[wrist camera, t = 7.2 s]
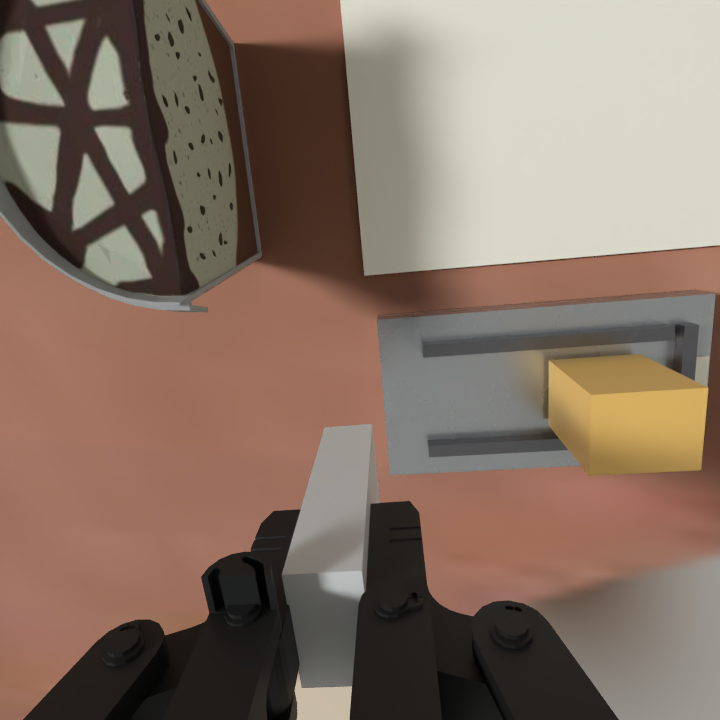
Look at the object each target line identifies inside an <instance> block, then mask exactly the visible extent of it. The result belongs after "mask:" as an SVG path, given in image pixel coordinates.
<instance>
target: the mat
mask: <svg viewBox="0 0 720 720" xmlns="http://www.w3.org/2000/svg"><path fill="white" fill-rule="evenodd" d="M340 3H341V14H342V26H343V37H344V49H345V60H346V72H347V83H348V95H349V106H350V118H351V129H352V140H353V152H354V163H355V175H356V186H357V198H358V209H359V221H360V232H361V244H362V255H363V267H364V276H367V275H379V274H390V273H402V272H414V271H425V270H437V269H448V268H460V267H472V266H483V265H495V264H507V263H518V262H530V261H542V260H553V259H565V258H577V257H588V256H600V255H612V254H623V253H635V252H646V251H658V250H670V249H681V248H693V247H705V246H716V245H720V0H340Z"/></svg>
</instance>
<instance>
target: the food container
mask: <svg viewBox="0 0 720 720" xmlns="http://www.w3.org/2000/svg"><path fill="white" fill-rule="evenodd" d="M0 216H1V217H2V218H3V220H4V221H5V222H6V223H7V224H8V225H9V227H10V228H11V229H12V230H13V231H14V232H15V234H16V235H17V236H18V237H19V238H20V239H21V240H22V241H23V242H24V243H25V244H26V245H27V246H28V247H30V248H31V249H32V250H33V251H34V252H35V253H36V254H37V255H38V256H40V257H41V258H42V259H43V260H44V261H46V262H47V263H48V264H50V265H51V266H53V267H54V268H56V269H57V270H59V271H60V272H62V273H63V274H65V275H66V276H68V277H69V278H71V279H73V280H75V281H76V282H78V283H80V284H82V285H84V286H86V287H88V288H90V289H92V290H94V291H96V292H98V293H100V294H102V295H104V296H106V297H109V298H112V299H115V300H118V301H122V302H125V303H128V304H131V305H134V306H140V307H146V308H152V309H158V310H166V311H177V312H208V308H207V307H201V306H194V305H192V304H191V301H192V300H194V299H196V298H197V297H199V296H200V295H202V294H204V293H205V292H207V291H208V290H210V289H212V288H213V287H215V286H216V285H218V284H220V283H221V282H223V281H224V280H226V279H228V278H229V277H231V276H232V275H234V274H236V273H237V272H239V271H240V270H242V269H244V268H245V267H247V266H248V265H250V264H252V263H253V262H255V261H256V260H258V259H260V258H261V257H262V250H261V243H260V235H259V228H258V220H257V213H256V205H255V198H254V190H253V183H252V175H251V168H250V161H249V153H248V146H247V138H246V131H245V123H244V116H243V108H242V101H241V93H240V86H239V78H238V71H237V64H236V56H235V49H234V43H233V41H232V40H231V38H230V37H229V35H228V34H227V32H226V31H225V29H224V28H223V27H222V25H221V24H220V22H219V21H218V19H217V18H216V16H215V15H214V13H213V12H212V10H211V9H210V7H209V6H208V4H207V3H206V1H205V0H0Z"/></svg>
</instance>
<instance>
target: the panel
mask: <svg viewBox="0 0 720 720" xmlns="http://www.w3.org/2000/svg"><path fill="white" fill-rule="evenodd" d="M715 296H716V294H715V293H709V292H704V291H699V290H687V291H675V292H662V293H649V294H637V295H624V296H611V297H598V298H586V299H573V300H560V301H548V302H535V303H522V304H509V305H497V306H484V307H471V308H459V309H446V310H433V311H420V312H408V313H395V314H382V315H378V318H377V324H378V337H379V349H380V361H381V373H382V385H383V397H384V409H385V421H386V433H387V446H388V458H389V470H390V475H402V474H422V473H442V472H462V471H482V470H502V469H522V468H542V467H562V466H581V465H580V464H579V463H578V461H577V460H576V459H575V458H574V456H573V455H572V454H571V453H570V451H569V450H568V449H567V448H566V446H565V445H564V444H563V443H562V441H561V440H560V439H559V438H558V436H557V435H556V434H555V433H554V431H553V430H552V429H551V428H550V427H549V425H548V404H549V360H557V359H571V358H586V357H601V356H615V355H630V354H641V355H643V356H645V357H647V358H649V359H651V360H653V361H655V362H657V363H659V364H661V365H663V366H665V367H667V368H669V369H671V370H674V371H676V372H678V373H680V374H682V375H684V376H686V377H688V378H690V379H692V380H694V381H696V382H698V383H700V384H702V385H704V386H706V387H708V376H709V364H710V353H711V342H712V330H713V319H714V308H715Z"/></svg>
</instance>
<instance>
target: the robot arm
mask: <svg viewBox="0 0 720 720" xmlns="http://www.w3.org/2000/svg"><path fill="white" fill-rule="evenodd" d="M201 579H202V583H203V587H204V592H205V596H206V600H207V604H208V609H209V616H208V618H207V620H206V621H205V622H204V623H202V624H199V625H197V626H194V627H192V628H188V629H185V630H182V631H179V632H175V633H172V634H169V635H164V631H163V629H162V628H161V626H160V624H159V623H157V622H154V621H152V620H135V621H131V622H128V623H125V624H122V625H120V626H118V627H116V628H115V629H113V630H111V631H109V632H108V633H106V634H105V635H104V636H103V637H102V638H101V639H99V640H98V641H97V642H96V643H95V644H94V645H93V646H92V647H91V648H90V649H89V650H88V651H87V652H86V653H85V655H84V656H83V657H82V658H81V659H80V660H79V661H78V662H77V663H76V664H75V665H74V666H73V667H72V668H71V669H70V670H69V672H68V673H67V674H66V675H65V676H64V677H63V678H62V679H61V680H60V681H59V682H58V683H57V684H56V685H55V686H54V687H53V688H52V690H51V691H50V692H49V693H48V694H47V695H46V696H45V697H44V698H43V699H42V700H41V701H40V702H39V703H38V704H37V705H36V706H35V708H34V709H33V710H32V711H31V712H30V713H29V714H28V715H27V716H26V717H25V718H24V719H23V720H296V719H297V702H296V696H295V691H294V690H295V685H296V679H297V674H298V669H299V674H300V680H301V685H302V688H314V687H341V686H342V687H343V686H352V696H351V709H350V720H619V719H618V718H617V717H616V715H615V714H614V712H613V711H612V710H611V708H610V707H609V706H608V704H607V703H606V701H605V700H604V699H603V697H602V696H601V694H600V693H599V692H598V690H597V689H596V687H595V686H594V685H593V683H592V682H591V681H590V679H589V678H588V676H587V675H586V674H585V672H584V671H583V669H582V668H581V667H580V665H579V664H578V662H577V661H576V660H575V658H574V657H573V656H572V654H571V653H570V652H569V650H568V649H567V647H566V646H565V644H564V643H563V642H562V640H561V639H560V637H559V636H558V635H557V633H556V632H555V630H554V629H553V628H552V626H551V625H550V623H549V622H548V621H547V620H546V619H545V618H544V617H543V616H542V615H541V614H540V613H539V612H538V611H537V610H535V609H533V608H531V607H529V606H527V605H525V604H523V603H518V602H513V601H497V602H492V603H490V604H488V605H485V606H483V607H482V608H481V609H480V610H479V611H478V612H477V613H476V614H475V615H474V617H473V616H469V615H464V614H460V613H457V612H454V611H451V610H449V609H447V608H445V607H443V606H442V605H440V604H439V603H438V602H437V601H436V600H435V599H434V598H433V597H432V595H431V594H430V592H429V590H428V586H427V580H426V571H425V562H424V553H423V544H422V535H421V526H420V517H419V512H418V511H417V509H416V508H415V507H414V506H413V505H412V503H411V502H410V501H404V502H388V503H380V494H379V485H378V476H377V466H376V457H375V448H374V438H373V429H372V424H366V425H353V426H340V427H326V428H324V431H323V435H322V438H321V441H320V445H319V448H318V452H317V455H316V459H315V462H314V465H313V469H312V472H311V476H310V479H309V483H308V486H307V490H306V493H305V496H304V500H303V503H302V507H301V509H300V510H284V511H273V512H272V513H271V514H270V515H269V516H268V517H267V518H266V519H265V520H264V521H263V522H262V523H261V525H260V528H259V530H258V532H257V535H256V537H255V540H254V542H253V545H252V547H251V552H241V553H236V554H231V555H229V556H227V557H224V558H222V559H220V560H218V561H217V562H215V563H214V564H213V565H211V566H210V567H209V568H208V569H207V570H206V571H205V573H204V574H203V575H202V577H201Z"/></svg>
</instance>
